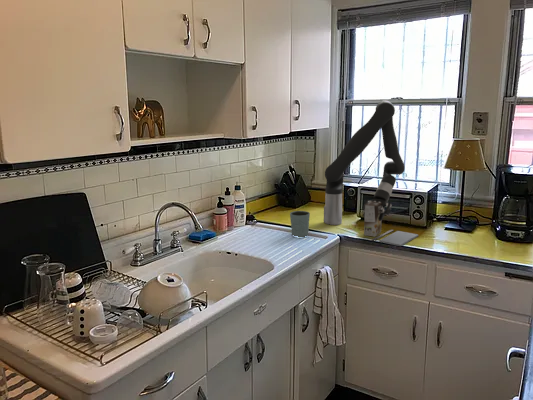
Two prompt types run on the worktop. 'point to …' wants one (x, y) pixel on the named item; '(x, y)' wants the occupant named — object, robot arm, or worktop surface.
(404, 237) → the mat
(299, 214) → the grey green cup
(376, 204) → the coffee box
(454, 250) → the worktop surface
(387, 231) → the tan thin rod
